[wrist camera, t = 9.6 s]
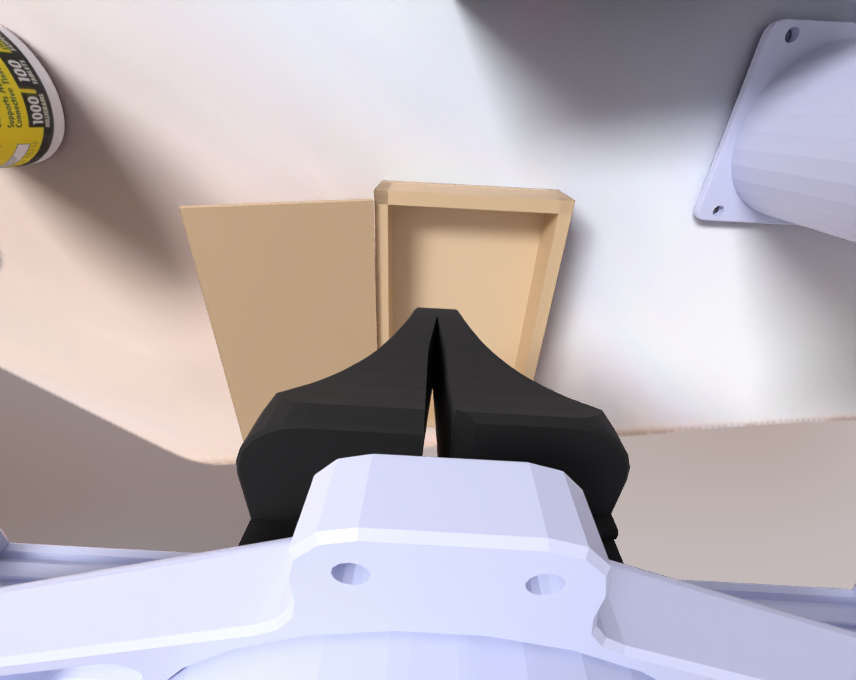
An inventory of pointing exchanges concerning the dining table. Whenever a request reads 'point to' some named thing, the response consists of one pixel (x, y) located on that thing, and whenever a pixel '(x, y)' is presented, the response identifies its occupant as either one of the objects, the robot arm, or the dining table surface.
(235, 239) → the lid
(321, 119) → the dining table surface
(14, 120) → the pill bottle
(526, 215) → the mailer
